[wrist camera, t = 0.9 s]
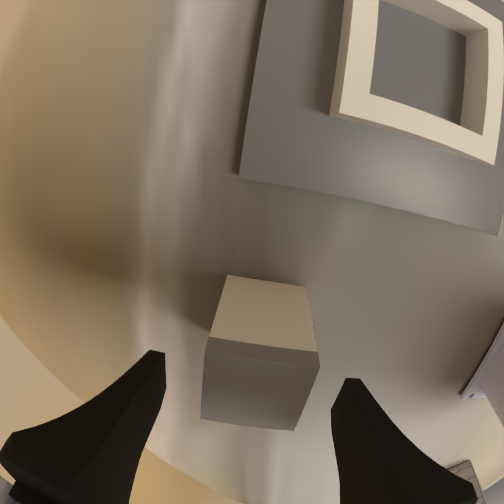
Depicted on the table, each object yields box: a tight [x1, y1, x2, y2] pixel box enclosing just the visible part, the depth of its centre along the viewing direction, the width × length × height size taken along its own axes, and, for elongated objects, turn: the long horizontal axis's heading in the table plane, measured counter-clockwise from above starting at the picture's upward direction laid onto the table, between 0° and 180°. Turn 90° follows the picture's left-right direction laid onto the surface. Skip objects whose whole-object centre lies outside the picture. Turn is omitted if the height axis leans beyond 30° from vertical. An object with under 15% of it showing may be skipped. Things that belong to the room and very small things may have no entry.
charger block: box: [200, 275, 320, 431], centre depth 14 cm, size 4×4×6 cm
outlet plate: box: [238, 0, 504, 236], centre depth 10 cm, size 14×14×3 cm
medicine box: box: [448, 460, 487, 504], centre depth 20 cm, size 8×4×9 cm, turn 104°
